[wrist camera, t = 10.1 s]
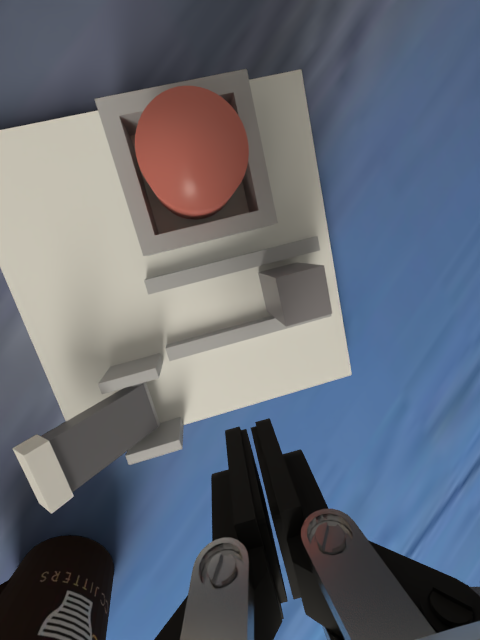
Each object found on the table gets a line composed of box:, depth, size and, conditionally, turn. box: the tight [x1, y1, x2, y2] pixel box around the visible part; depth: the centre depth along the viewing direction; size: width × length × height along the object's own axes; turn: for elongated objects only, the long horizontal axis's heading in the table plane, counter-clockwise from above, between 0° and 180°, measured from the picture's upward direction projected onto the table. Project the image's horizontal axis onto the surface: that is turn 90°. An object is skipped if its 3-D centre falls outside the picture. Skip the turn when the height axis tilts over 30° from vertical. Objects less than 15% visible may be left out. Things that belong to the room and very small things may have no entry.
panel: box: [0, 69, 352, 465], centre depth 18 cm, size 18×18×4 cm
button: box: [135, 86, 249, 220], centre depth 14 cm, size 4×4×4 cm
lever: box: [13, 382, 160, 514], centre depth 16 cm, size 1×3×7 cm
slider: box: [258, 262, 332, 326], centre depth 17 cm, size 2×2×4 cm
